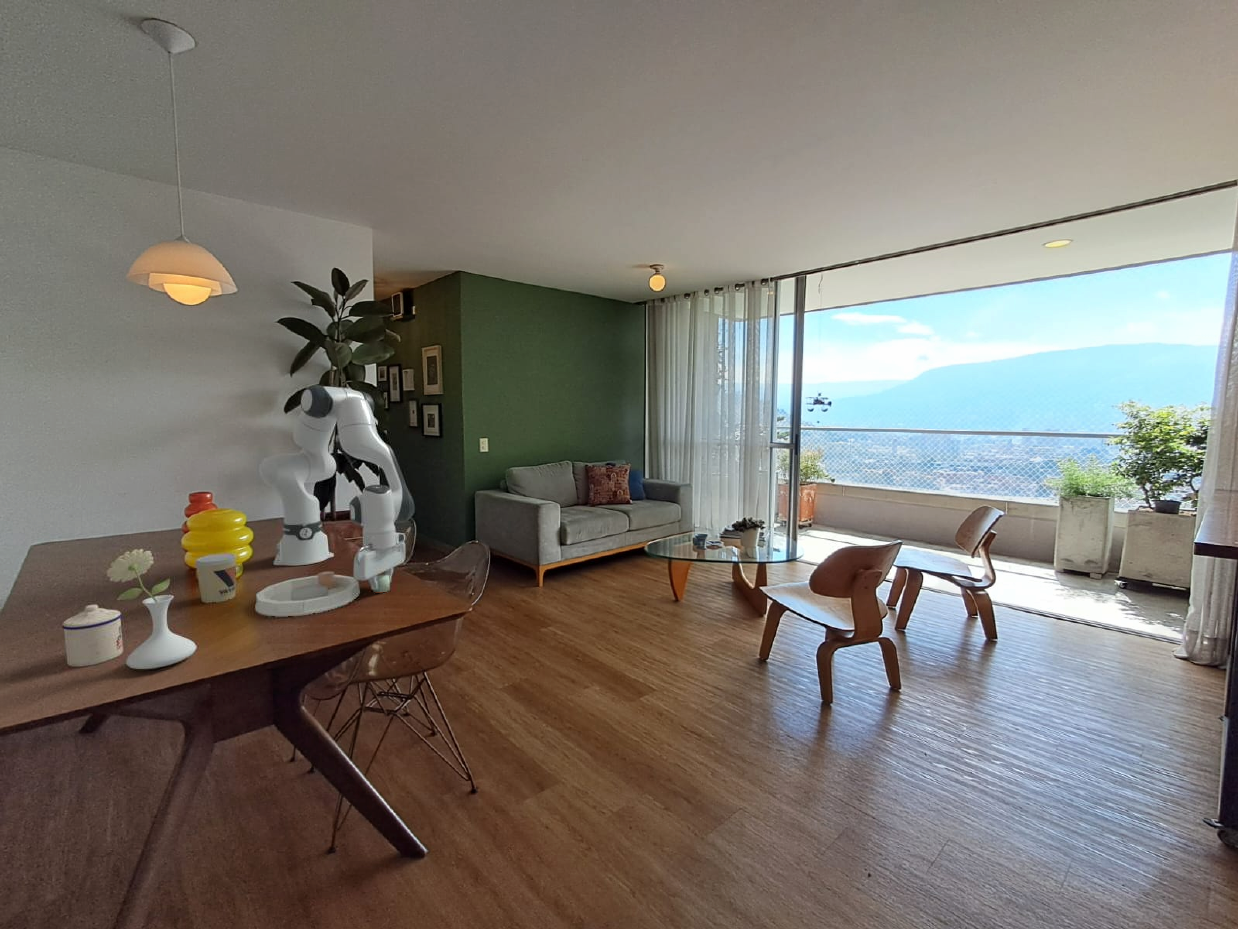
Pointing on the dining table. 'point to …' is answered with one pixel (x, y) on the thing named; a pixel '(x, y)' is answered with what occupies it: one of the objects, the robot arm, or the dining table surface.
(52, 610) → the dining table surface
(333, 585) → the terracotta bead
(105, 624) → the teacup with lid
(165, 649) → the flower in vase
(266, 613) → the groove tray
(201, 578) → the coffee cup
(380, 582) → the sage bead
